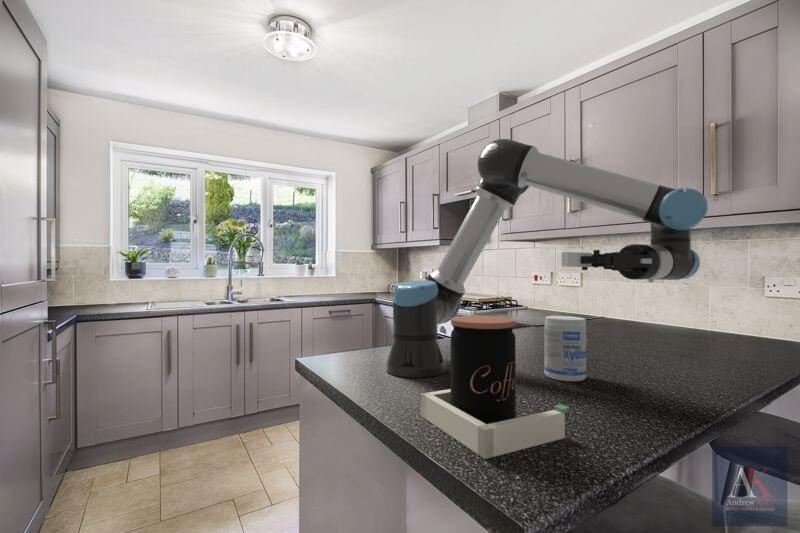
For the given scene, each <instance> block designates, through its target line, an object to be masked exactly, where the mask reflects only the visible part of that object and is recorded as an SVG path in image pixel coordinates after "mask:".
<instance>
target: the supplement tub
mask: <svg viewBox="0 0 800 533" xmlns="http://www.w3.org/2000/svg"><path fill="white" fill-rule="evenodd" d="M544 319H545V320H544V366H543V368H544V371H543V372H544V374H545V376H546V377H548V378H550V379H552V380H556V381H560V382H561V381H563V382H573V383H575V382H582V381H584V380H585V379H586V378H587V321H586V320H587V319H586V318H584V317H580V316H568V315H566V316H565V315H548V316H545V318H544Z"/></svg>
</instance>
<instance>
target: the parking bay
mask: <svg viewBox="0 0 800 533" xmlns="http://www.w3.org/2000/svg"><path fill="white" fill-rule="evenodd" d="M420 396H421V398H420V412H421V413H420V416H421V417H422V418H423V419H424V420H427V421H428V422H429V423H431V424H432V425H433V426H436V427H437V428H439V429H440V430H441V431H443V432H444V433H446V434H447V435H448V436H450V437H452V438H453V439H454V440H456V441H457V442H459V443H461V444H462V445H464V446H465V447H466V448H468V449H469V450H471V452H474V453H475V454H477V455H478V456H480V457H481V458H482V459H484V460H486V459H490V458H491V459H492V458H494V457H498V456H502V455H505V454H506V455H507V454H510V453H513V452H517V451H521V450H525V449H529V448H533V447H536V446H540V445H543V444H547V443H551V442H556V441H559V440H562V439H563V440H564V439H565V438H566V437H565V436H566V434H565V430H566V429H565V422H566V421H565V413H568V412H570V407H569V406H566V405H563V404H556V405H553V409H551V410H548V411H543V412H537V413H533V414H530V415H524V416H519V417H516V418H514V419H509V420H505V421H500V422H495V423H491V424H485V423H483V422H481V421H479V420H478V419H476V418H474V417H472V416H470V415H469V414H467V413H465V412H463V411H461V410H459V409H458V408H456V407H454V406H452V405H451V388H448V389H443V390H436V391H431V392H430V391H429V392H428V391H427V392H424V393H423V392H422V393H421V394H420Z"/></svg>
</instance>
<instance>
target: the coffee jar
mask: <svg viewBox="0 0 800 533" xmlns="http://www.w3.org/2000/svg"><path fill="white" fill-rule="evenodd" d="M450 325H452V328H453V329H452V330H451V332H450V389H451V405H452V406H454V407H456V408H458V409H459V410H461V411H463V412H465V413H467V414H469V415H470V416H472V417H474V418H476V419H478V420H479V421H481V422H483V423H485V424H491V423H495V422H500V421H505V420H509V419H514V418H517V415H516V414H517V412H516V411H517V404H516V403H517V402H516V401H517V399H516V398H517V396H516V393H517V388H516V386H517V385H516V382H517V381H516V379H517V378H516V367H517V366H516V363H517V362H516V361H517V360H516V351H517V350H516V335H515V333H514V331H513V329H514V327H515V326H516V319H514V318H512V317H506V316H496V315H494V316H493V315H460V316H455V317H453V318H451V320H450Z"/></svg>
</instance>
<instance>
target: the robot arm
mask: <svg viewBox="0 0 800 533" xmlns="http://www.w3.org/2000/svg"><path fill="white" fill-rule="evenodd" d="M477 171H478V173H479V176H480V178H479V179H478V182H477V184H476V186H475V191H476V195H477V196H476V197H475V199H474V201H473V203H472V205H471V206H470V208H469V211H468V212H467V214H466V215H465V217H464V219H463V222H462V223H461V226H460V227H459V229H458V231H457V233H456V234H455V236H454V238H453V240H452V242H451V244H450V246H449V247H448V250H447V251H446V253H445V255H444V256H443V258H442V260H441V262H440V264H439V266H438V268H437V269H436V270H434V271H433V270H432V271H430V272H429V274H428V276H427V277H426V279H424V280H423V279H419V280H417V279H416V280H410V281H407V280H406V281H403V282H399V283H397V284H396V285H395V286H394V288H393V296H392V308H393V309H392V312H393V313H392V314H393V315H392V318H393V319H392V321H393V322H392V323H393V325H392V327H393V328H392V330H393V331H392V333H393V334H392V335H393V338H392V339H393V341H392V344H391V347H390V351H389V352H388V356H387V359H386V372H388V374H390V375H393V376H395V377H396V376H397V377H401V378H402V377H404V378H429V377H430V378H431V377H434V376H435V377H436V376H440V375H441V374H444V372H445V362H444V361H445V360H444V358H443V354H442V351H441V348H440V345H439V341H438V325H442V324H445V323H449V322H451V318H453V317H457V315H458V313H459V311H460V309H461V302H462V301H461V300H462V298H463V296H464V294H465V293H466V289H465V286H464V284H465V282H466V280H467V278H468V277H469V275H470V273H471V271H472V270H473V268H474V266H475V264H476V262H477V261H478V259H479V257H480V255H481V254H482V252H483V250H484V248H485V247H486V245H487V243H488V241H489V239H490V238H491V236H492V234H493V233H494V230H495V229H496V227H497V225H498V223H499V222H500V219H501V218H502V216H503V214H504V213H505V211H506V210H507V209H510V208H513V207H514V206H515V204H516V203H517V201H518V200H519V197H520V196H521V195H522V194H524V193H525V192H527V190H528V189H529V188H530V187H532V188H535V189H539V190H542V191H545V192H547V193H552V194H555V195H558V196H562V197H565V198H568V199H571V200H575V201H578V202H581V203H585V204H589V205H592V206H595V207H597V208H598V207H599V208H601V209H604V210H608V211H612V212H615V213H618V214H622V215H625V216H628V217H632V218H635V219H638V220H642V221H643V222H647V223H649V224H650V244H639V243H631V244H628V245H625V246H623V248H621V249H620V250H619V251H614V252H604V253H600V251H601V249H592V250H593V251H592V252H575V251H573V252H572V251H565V252H564V251H563V252H561V267H567V268H569V267H570V268H581V270H582V271H588V270H589V268H603V270H611V271H613V272H614V271H615V272H618V273H619V274H620V275H621V276H622V277H624V278H626V279H628V280H637V281H638V280H642V281H643V280H648V283H653V282H654V280H663V281H665V280H667V281H670V280H671V281H674V280H675V281H679V280H683V279H686V280H687V279H688V278H690V277H692V276H695V274H696V273H697V272H698V271H699V268H700V265H701V261H700V257H699V255H698V253H697V252H696V251H695V250H693V249H692V248H691V246H692V242H691V240H692V239H691V236H692V235H691V232H692V231H691V229H692V228H694V227H696V226H698V225H699V224H700V223H701V221H703V219H704V217H705V216H706V215H707V212H708V208H709V205H708V200H707V198H706V197H705V195H703V194H704V193H701V192H700V191H699V190H696V189H694V188H690V187H685V188H683V187H681V188H672V187H668V186H664V185H660V184H657V183H654V182H649V181H645V180H642V179H639V178H634V177H631V176H628V175H627V176H626V175H623V174H621V173H617V172H612V171H608V170H605V169H602V168H597V167H593V166H590V165H586V164H582V163H578V162H574V161H571V160H567V159H565V158H564V159H563V158H560V157H556V156H553V155H549V154H545V153H541V152H539V150H538V147H536V146H534V145H529V144H526V143H522V142H519V141H516V140H513V139H508V138H499V139H495V140H492V141H491V142H489V143H488V144H486V145H485V146H484V147H483V148H482V149H481V151H480V153H479V155H478V158H477Z"/></svg>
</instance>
